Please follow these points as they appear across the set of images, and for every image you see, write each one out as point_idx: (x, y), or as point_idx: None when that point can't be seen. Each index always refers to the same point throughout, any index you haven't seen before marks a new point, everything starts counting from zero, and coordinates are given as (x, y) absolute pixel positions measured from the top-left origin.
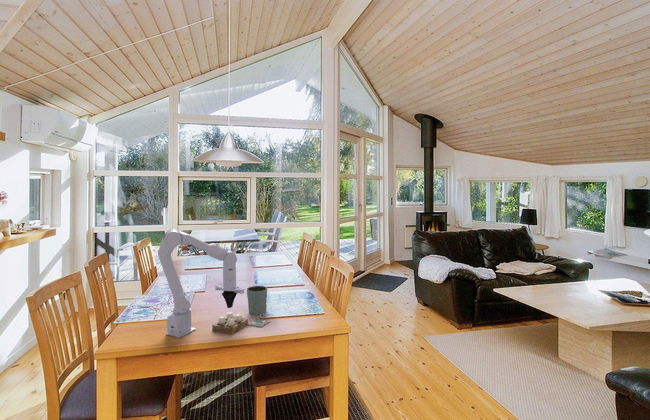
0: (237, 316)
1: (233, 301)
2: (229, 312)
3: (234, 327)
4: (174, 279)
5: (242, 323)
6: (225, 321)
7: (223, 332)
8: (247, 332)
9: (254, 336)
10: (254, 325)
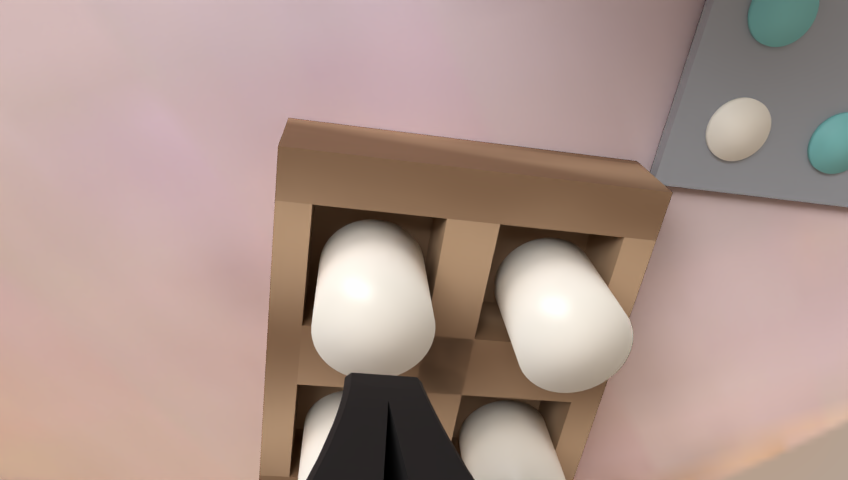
0: (572, 388)
1: (461, 470)
2: (335, 294)
3: (573, 463)
4: None
5: None
6: None
7: None
8: (707, 376)
9: (809, 431)
10: (756, 194)
